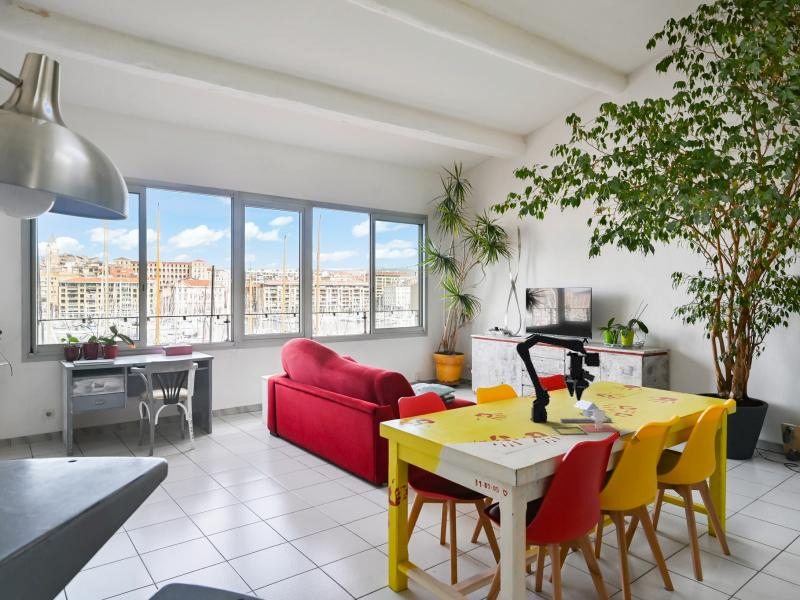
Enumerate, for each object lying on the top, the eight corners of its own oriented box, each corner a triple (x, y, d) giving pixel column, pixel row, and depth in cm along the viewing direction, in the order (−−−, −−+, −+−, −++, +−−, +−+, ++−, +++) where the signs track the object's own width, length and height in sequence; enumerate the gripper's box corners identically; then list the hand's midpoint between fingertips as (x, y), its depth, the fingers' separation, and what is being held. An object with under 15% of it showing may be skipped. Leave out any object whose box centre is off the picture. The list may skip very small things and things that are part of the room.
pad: (589, 432, 233) (589, 431, 233) (578, 425, 245) (578, 424, 245) (620, 431, 233) (620, 431, 233) (607, 425, 245) (607, 424, 245)
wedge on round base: (573, 413, 269) (594, 418, 258) (573, 400, 269) (594, 404, 258) (585, 411, 274) (606, 416, 263) (585, 398, 274) (606, 403, 263)
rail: (562, 422, 249) (562, 419, 249) (560, 421, 251) (560, 418, 251) (611, 422, 250) (611, 419, 250) (609, 421, 253) (609, 417, 253)
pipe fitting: (599, 425, 243) (599, 408, 243) (609, 429, 236) (610, 411, 236) (587, 426, 242) (588, 409, 241) (597, 430, 235) (597, 412, 234)
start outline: (560, 434, 228) (560, 433, 228) (552, 428, 239) (552, 427, 239) (588, 434, 229) (588, 433, 229) (578, 427, 240) (578, 427, 240)
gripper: (601, 369, 239) (599, 403, 240) (585, 363, 258) (584, 395, 258) (576, 368, 239) (575, 402, 239) (563, 362, 258) (562, 394, 258)
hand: (575, 398), depth 249 cm, fingers open, 9 cm apart
